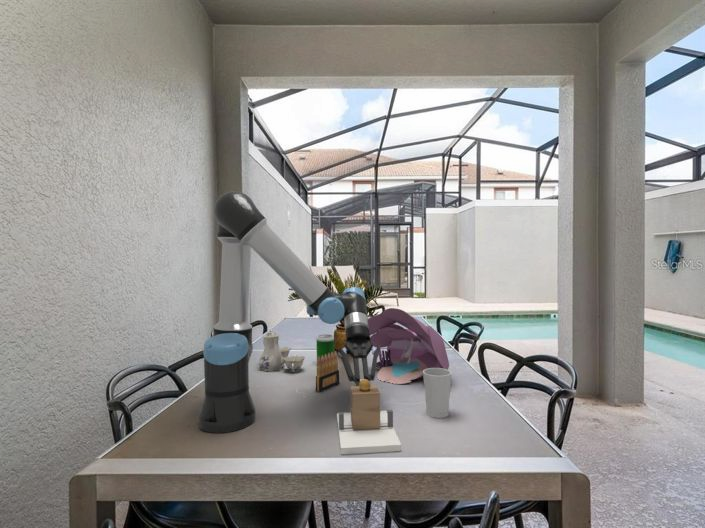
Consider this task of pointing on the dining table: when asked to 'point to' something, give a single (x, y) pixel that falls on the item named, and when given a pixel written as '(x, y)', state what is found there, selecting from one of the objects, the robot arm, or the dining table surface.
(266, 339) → the chinaware
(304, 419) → the dining table surface
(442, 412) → the cup
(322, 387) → the ammunition clip
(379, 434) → the stand
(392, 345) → the flower arrangement
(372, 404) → the block
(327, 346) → the soda can
